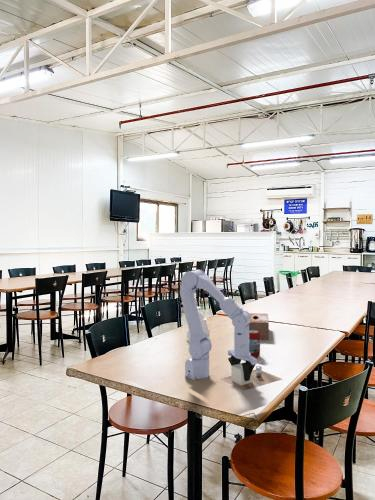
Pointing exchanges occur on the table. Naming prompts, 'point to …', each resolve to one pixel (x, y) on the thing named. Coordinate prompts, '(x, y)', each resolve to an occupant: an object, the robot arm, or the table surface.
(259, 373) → the stub
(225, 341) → the table surface
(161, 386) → the table surface
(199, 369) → the robot arm
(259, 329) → the tissue box cover
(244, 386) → the board
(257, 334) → the beverage can
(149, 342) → the table surface
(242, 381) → the plaster cube
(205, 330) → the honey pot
